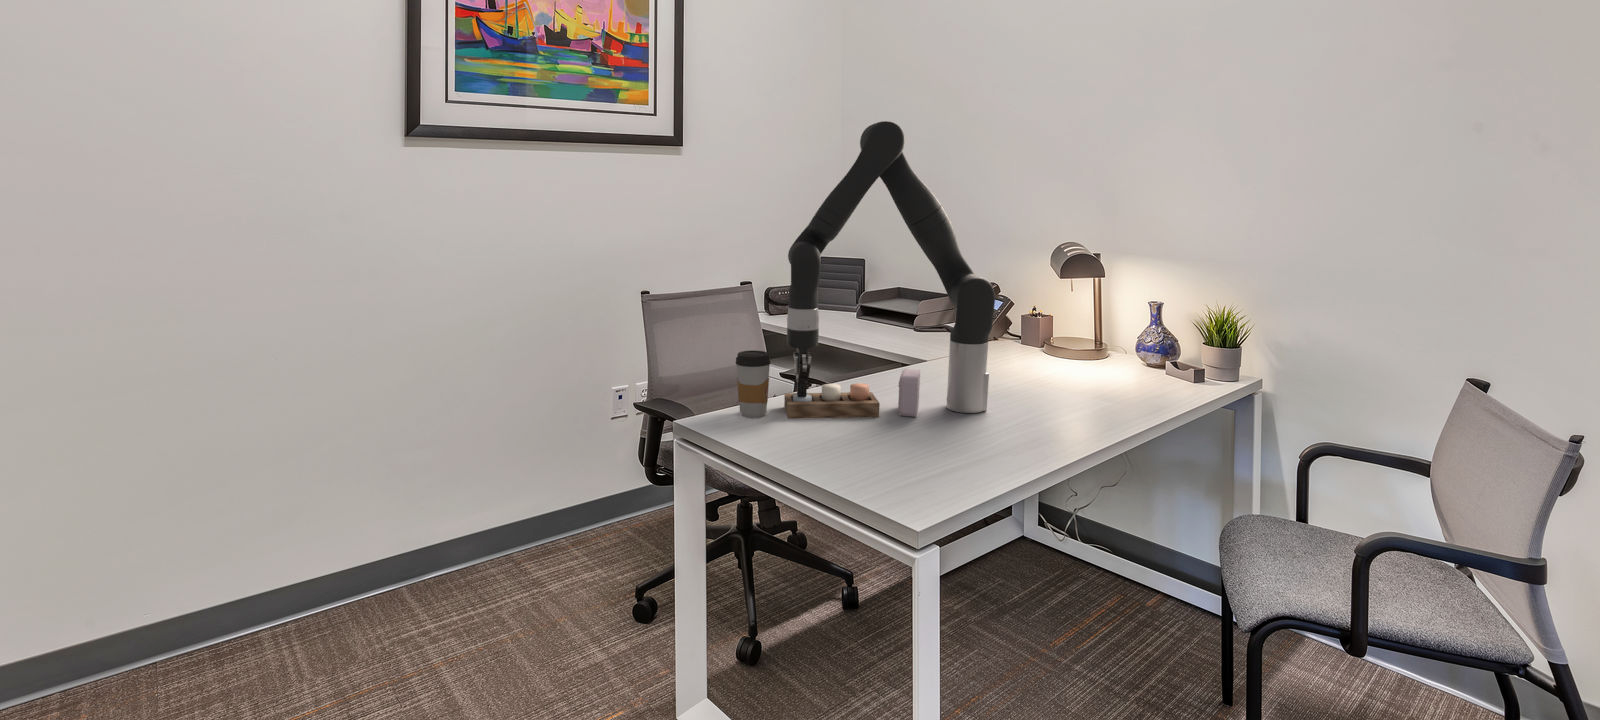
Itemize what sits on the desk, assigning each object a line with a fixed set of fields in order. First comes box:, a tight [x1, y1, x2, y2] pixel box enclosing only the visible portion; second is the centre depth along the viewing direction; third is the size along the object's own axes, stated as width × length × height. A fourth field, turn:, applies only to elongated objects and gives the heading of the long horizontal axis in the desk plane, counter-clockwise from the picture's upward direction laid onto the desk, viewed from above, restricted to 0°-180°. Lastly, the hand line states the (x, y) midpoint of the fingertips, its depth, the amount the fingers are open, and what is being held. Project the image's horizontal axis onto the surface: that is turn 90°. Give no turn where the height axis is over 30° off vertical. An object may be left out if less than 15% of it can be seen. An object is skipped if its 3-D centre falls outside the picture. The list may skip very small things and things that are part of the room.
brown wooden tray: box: [783, 391, 881, 420], centre depth 192 cm, size 22×10×4 cm, turn 96°
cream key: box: [821, 383, 842, 401], centre depth 191 cm, size 5×5×3 cm
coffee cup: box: [735, 349, 771, 419], centre depth 188 cm, size 8×8×15 cm
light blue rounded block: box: [793, 394, 812, 402], centre depth 191 cm, size 5×5×3 cm
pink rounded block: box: [849, 382, 870, 401], centre depth 192 cm, size 5×5×3 cm
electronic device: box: [897, 368, 921, 418], centre depth 192 cm, size 10×5×10 cm, turn 168°
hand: (801, 396), depth 191 cm, fingers closed
